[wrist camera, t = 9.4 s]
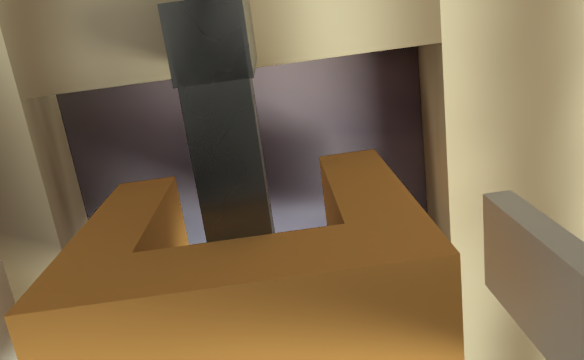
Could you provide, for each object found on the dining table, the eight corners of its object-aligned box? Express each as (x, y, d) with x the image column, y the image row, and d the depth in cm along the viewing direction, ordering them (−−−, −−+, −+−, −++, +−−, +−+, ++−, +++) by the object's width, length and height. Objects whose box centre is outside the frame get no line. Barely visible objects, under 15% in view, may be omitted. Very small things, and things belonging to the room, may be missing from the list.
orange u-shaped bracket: (137, 259, 20) (42, 438, 12) (119, 183, 19) (3, 316, 11) (380, 226, 20) (465, 379, 12) (374, 149, 20) (460, 253, 11)
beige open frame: (12, 410, 25) (-21, 462, 22) (-127, -3, 19) (-195, -6, 17) (554, 335, 25) (591, 376, 22) (560, -94, 20) (611, -114, 17)
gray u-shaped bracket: (258, 339, 24) (255, 517, 16) (203, 9, 20) (157, 3, 12) (298, 334, 24) (316, 508, 16) (251, 2, 20) (241, -8, 12)
